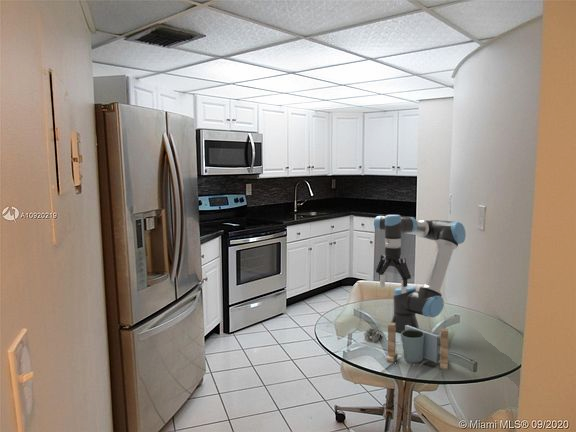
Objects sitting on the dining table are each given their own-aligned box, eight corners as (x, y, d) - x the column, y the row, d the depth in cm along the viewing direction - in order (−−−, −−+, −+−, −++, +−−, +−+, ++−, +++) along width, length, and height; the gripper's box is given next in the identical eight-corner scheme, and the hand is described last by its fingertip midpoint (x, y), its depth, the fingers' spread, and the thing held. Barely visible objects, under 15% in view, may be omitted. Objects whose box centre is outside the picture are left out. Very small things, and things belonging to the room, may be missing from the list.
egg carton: (376, 342, 223) (376, 335, 223) (362, 340, 227) (362, 332, 226) (383, 336, 232) (383, 328, 232) (369, 333, 236) (369, 326, 235)
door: (409, 348, 213) (409, 324, 212) (442, 361, 197) (442, 335, 196) (404, 349, 211) (404, 325, 210) (438, 363, 195) (438, 337, 194)
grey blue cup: (398, 357, 204) (396, 332, 202) (415, 351, 208) (413, 327, 207) (412, 365, 195) (411, 339, 193) (430, 359, 199) (429, 334, 197)
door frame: (390, 352, 209) (390, 320, 208) (448, 360, 199) (448, 326, 198) (386, 360, 200) (386, 326, 198) (447, 369, 190) (447, 333, 189)
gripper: (368, 244, 219) (368, 286, 221) (408, 251, 199) (407, 296, 201) (379, 243, 224) (379, 284, 225) (418, 249, 203) (418, 294, 205)
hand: (392, 290), depth 213 cm, fingers open, 13 cm apart
